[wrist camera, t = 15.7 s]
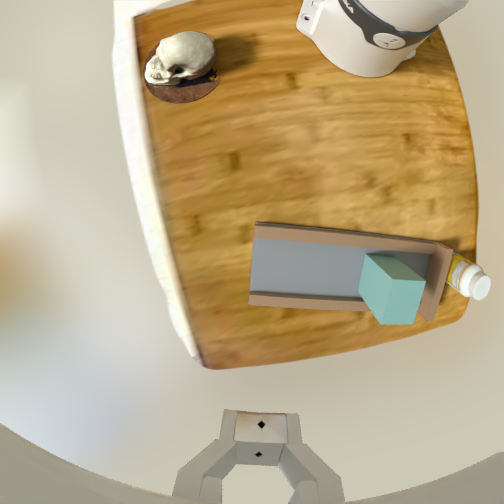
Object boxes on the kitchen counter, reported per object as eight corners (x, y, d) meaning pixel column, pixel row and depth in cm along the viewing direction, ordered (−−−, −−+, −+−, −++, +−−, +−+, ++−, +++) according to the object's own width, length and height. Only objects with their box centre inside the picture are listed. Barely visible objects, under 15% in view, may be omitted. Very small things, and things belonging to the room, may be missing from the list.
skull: (145, 117, 35) (117, 59, 25) (159, 81, 39) (140, 32, 30) (229, 100, 33) (214, 33, 24) (231, 67, 38) (219, 12, 29)
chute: (255, 222, 39) (254, 228, 35) (438, 242, 39) (453, 249, 35) (248, 300, 43) (247, 315, 39) (421, 308, 43) (433, 320, 38)
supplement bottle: (433, 268, 40) (465, 291, 31) (452, 245, 39) (487, 263, 30) (446, 286, 41) (476, 310, 32) (464, 265, 40) (497, 285, 31)
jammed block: (365, 253, 40) (392, 279, 30) (394, 256, 40) (426, 281, 30) (357, 291, 41) (380, 324, 32) (385, 292, 41) (412, 324, 32)
